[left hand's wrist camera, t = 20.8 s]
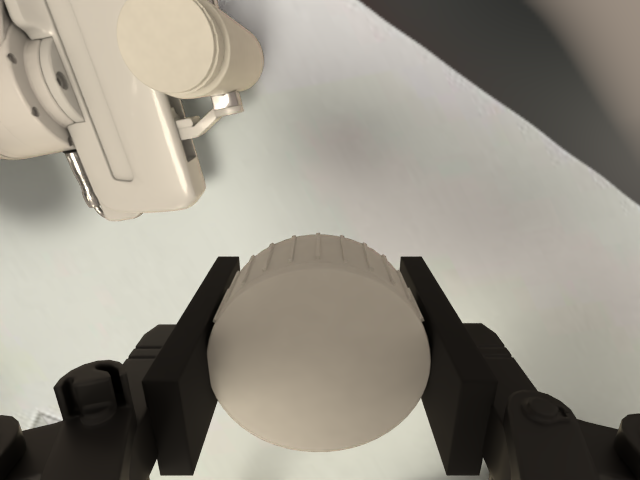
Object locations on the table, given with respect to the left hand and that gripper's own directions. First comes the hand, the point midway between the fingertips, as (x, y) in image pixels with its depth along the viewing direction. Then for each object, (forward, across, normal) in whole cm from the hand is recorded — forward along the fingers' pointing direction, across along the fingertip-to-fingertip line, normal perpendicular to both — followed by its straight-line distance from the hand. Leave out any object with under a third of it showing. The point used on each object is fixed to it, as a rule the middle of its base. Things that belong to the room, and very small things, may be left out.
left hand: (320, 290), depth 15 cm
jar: (+23, +7, -10) cm, 26 cm away
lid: (-4, 0, 0) cm, 4 cm away
